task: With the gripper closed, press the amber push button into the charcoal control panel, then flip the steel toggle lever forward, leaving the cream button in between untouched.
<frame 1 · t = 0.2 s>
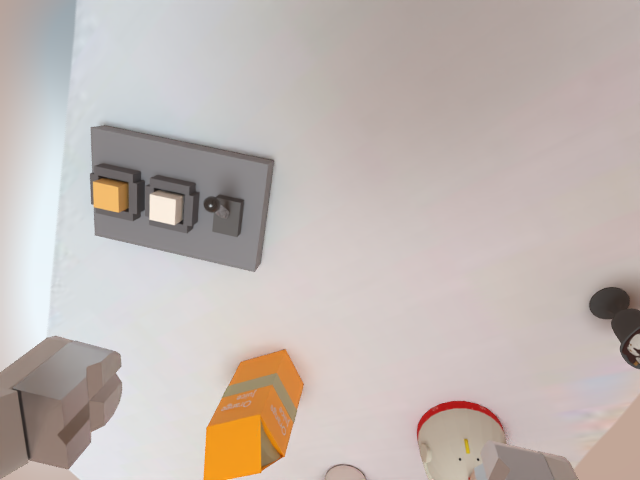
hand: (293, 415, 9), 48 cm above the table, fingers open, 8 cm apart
milk bottle: (346, 478, 75), on the table
amber button: (111, 195, 55), point 5 cm above the table, slide at 0.0 cm
orange juice: (272, 372, 69), on the table
toggle lever: (217, 208, 51), point 8 cm above the table, hinge at -30.0°
sundae: (608, 302, 56), on the table
cream button: (166, 207, 54), point 5 cm above the table, slide at 0.0 cm
control panel: (185, 196, 60), on the table
kitchen timer: (459, 432, 68), on the table
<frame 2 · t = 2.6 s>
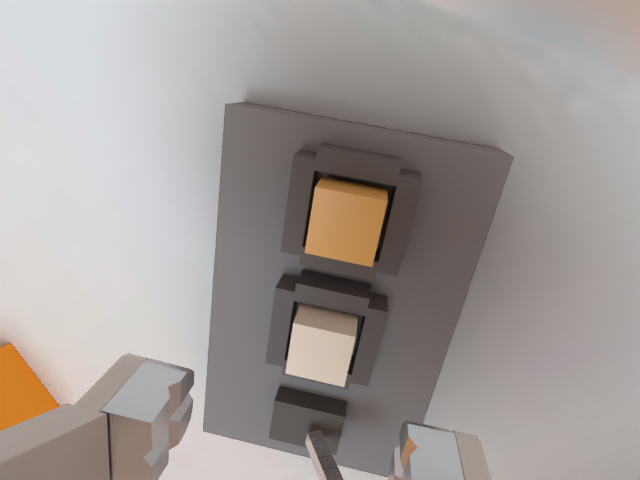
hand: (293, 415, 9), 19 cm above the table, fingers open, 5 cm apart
amber button: (346, 220, 21), point 6 cm above the table, slide at 0.0 cm
orange juice: (13, 388, 38), on the table
cream button: (322, 343, 24), point 6 cm above the table, slide at 0.0 cm
control panel: (332, 299, 29), on the table
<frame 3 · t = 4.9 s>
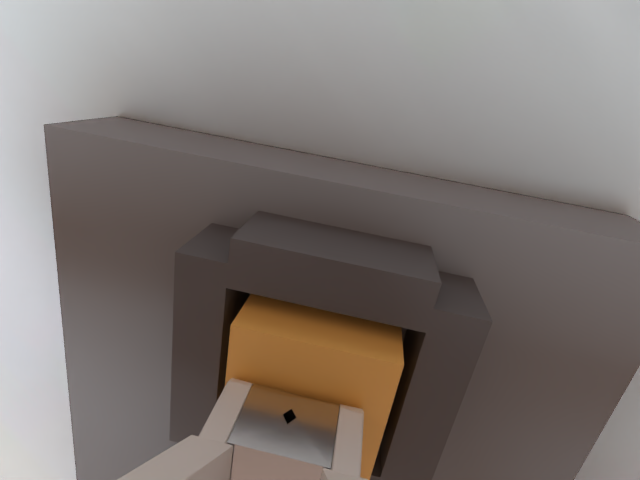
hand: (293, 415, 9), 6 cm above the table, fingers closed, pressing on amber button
amber button: (312, 375, 10), point 5 cm above the table, slide at 1.0 cm, touching gripper
control panel: (300, 453, 17), on the table
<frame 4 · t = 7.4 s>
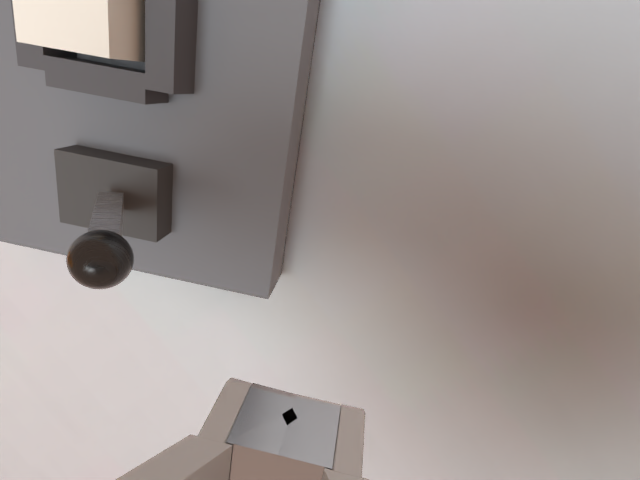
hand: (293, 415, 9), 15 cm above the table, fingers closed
toggle lever: (106, 231, 16), point 8 cm above the table, hinge at -30.0°
cream button: (82, 0, 15), point 5 cm above the table, slide at 0.0 cm
control panel: (157, 21, 20), on the table
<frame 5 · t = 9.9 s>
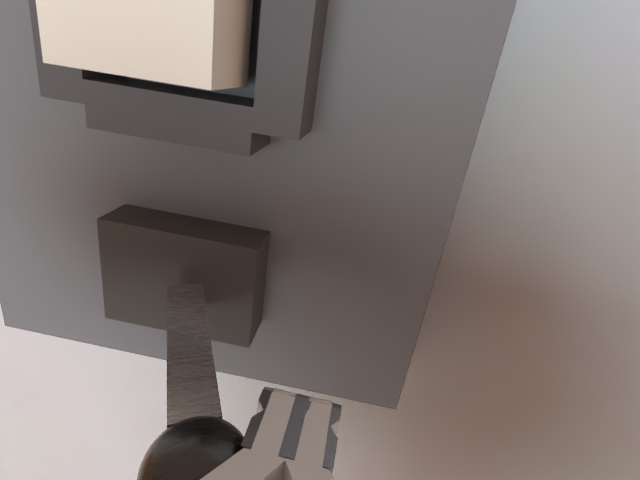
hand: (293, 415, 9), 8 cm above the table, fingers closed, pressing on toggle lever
toggle lever: (190, 380, 9), point 8 cm above the table, hinge at -26.9°, touching gripper
control panel: (237, 17, 14), on the table
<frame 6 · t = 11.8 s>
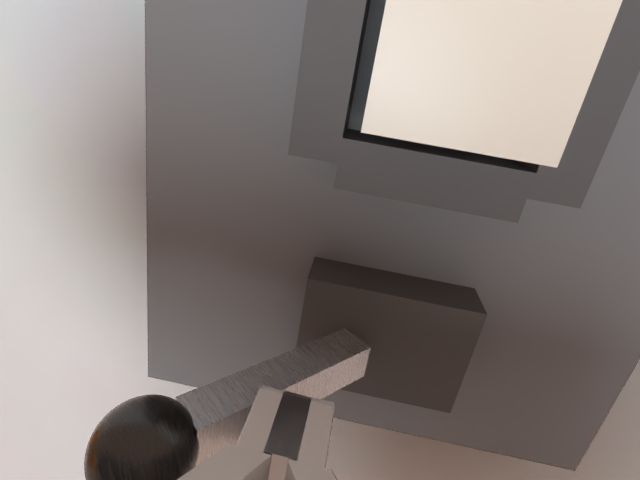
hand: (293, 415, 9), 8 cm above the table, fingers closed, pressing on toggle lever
toggle lever: (252, 399, 9), point 7 cm above the table, hinge at 41.8°, touching gripper
cream button: (472, 47, 8), point 6 cm above the table, slide at 0.0 cm
control panel: (433, 59, 13), on the table
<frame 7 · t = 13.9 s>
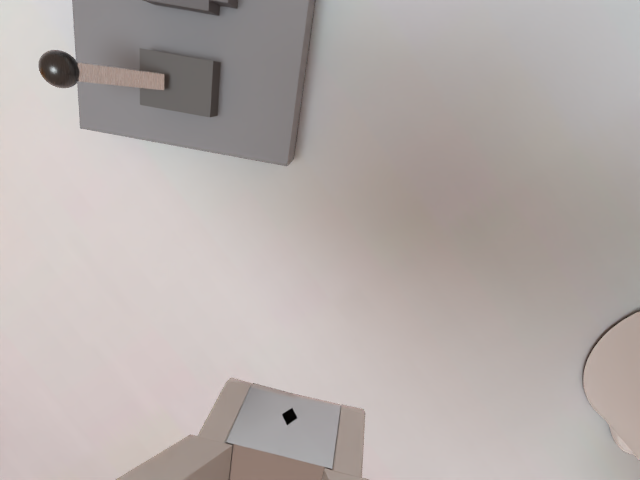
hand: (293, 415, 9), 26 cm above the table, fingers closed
toggle lever: (105, 74, 25), point 7 cm above the table, hinge at 42.3°
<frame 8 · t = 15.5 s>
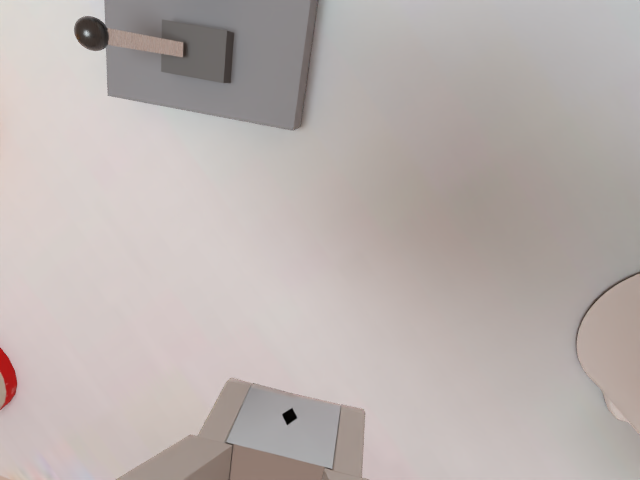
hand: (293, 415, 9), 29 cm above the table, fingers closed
toggle lever: (131, 40, 28), point 7 cm above the table, hinge at 42.3°
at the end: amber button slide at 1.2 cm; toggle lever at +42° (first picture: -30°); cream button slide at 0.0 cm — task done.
